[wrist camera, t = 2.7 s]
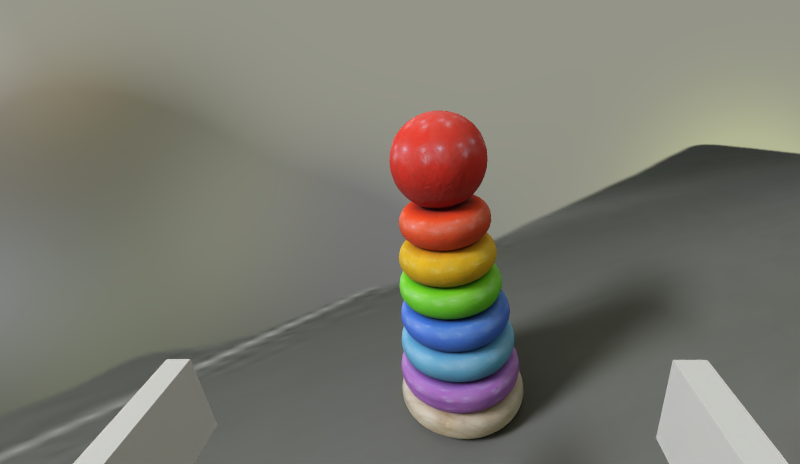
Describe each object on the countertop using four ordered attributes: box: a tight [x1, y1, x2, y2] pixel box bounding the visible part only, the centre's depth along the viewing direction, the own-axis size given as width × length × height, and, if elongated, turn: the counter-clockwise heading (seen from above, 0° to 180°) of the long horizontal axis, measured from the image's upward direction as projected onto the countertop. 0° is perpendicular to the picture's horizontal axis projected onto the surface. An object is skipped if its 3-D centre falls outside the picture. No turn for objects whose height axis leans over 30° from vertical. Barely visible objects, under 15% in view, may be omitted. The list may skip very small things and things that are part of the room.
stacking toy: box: [390, 111, 523, 439], centre depth 24 cm, size 8×8×19 cm
